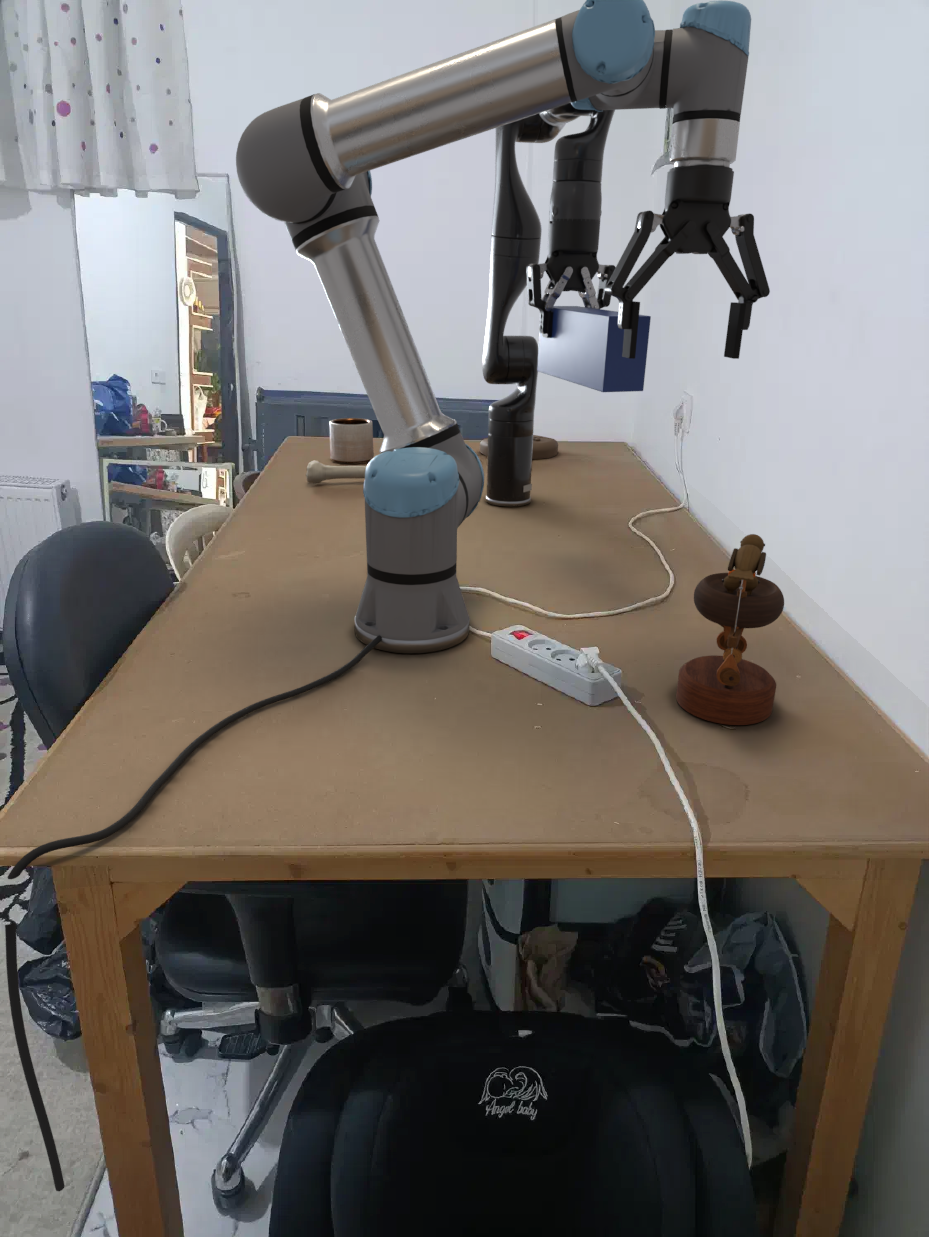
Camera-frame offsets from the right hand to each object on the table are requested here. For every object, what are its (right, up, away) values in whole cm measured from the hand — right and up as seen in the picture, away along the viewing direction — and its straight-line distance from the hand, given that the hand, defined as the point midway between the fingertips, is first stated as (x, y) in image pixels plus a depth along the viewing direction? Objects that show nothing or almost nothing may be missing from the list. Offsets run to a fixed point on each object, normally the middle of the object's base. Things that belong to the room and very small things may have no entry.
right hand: (567, 336), depth 130 cm
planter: (-44, -3, +84) cm, 95 cm away
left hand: (+11, -11, -25) cm, 29 cm away
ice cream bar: (-1, -2, +90) cm, 90 cm away
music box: (+13, -53, -34) cm, 64 cm away
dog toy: (-41, -13, +61) cm, 75 cm away
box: (+2, -8, -4) cm, 9 cm away
